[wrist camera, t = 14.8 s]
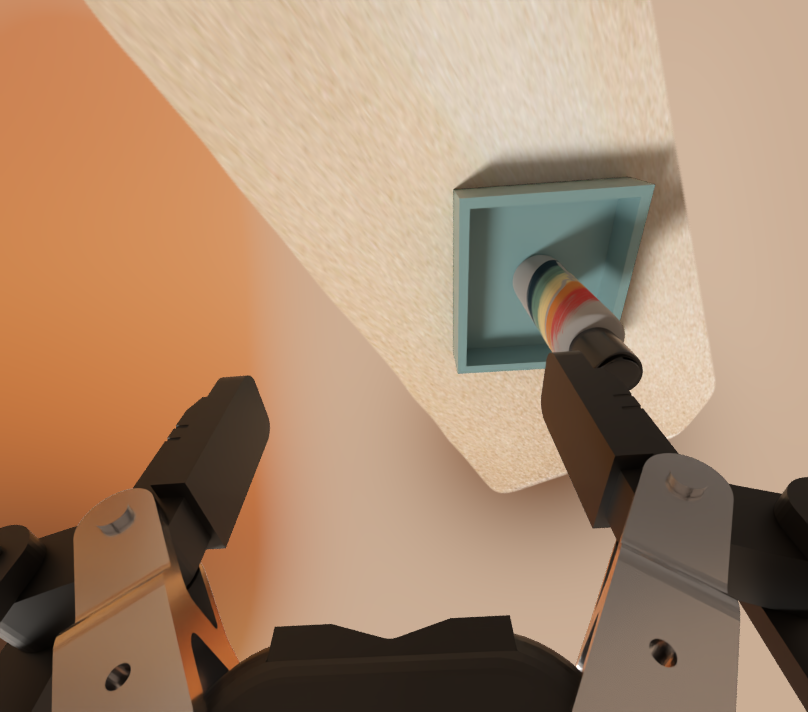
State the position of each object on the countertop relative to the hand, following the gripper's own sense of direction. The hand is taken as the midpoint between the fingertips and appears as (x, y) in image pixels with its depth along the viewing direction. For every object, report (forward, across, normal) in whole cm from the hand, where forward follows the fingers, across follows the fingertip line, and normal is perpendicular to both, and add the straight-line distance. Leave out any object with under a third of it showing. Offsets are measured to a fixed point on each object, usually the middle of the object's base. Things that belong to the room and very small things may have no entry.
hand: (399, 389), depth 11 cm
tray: (+35, -14, +12) cm, 39 cm away
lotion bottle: (+34, -15, +12) cm, 39 cm away
